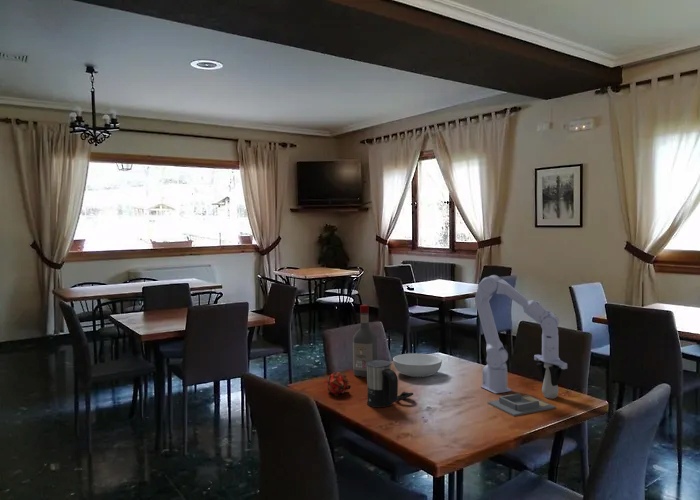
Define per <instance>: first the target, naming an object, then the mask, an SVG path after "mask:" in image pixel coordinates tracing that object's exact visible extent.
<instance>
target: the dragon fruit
mask: <svg viewBox="0 0 700 500" xmlns="http://www.w3.org/2000/svg"><path fill="white" fill-rule="evenodd" d="M326 384H327V385H326V386H327V392H329V393H332V394H333V396H336V395H337V396H339V395H340V394H344V393H345V392H346V391H347V390H350V389H351V388H352V385H350V384H349V380H348V379H347V375H346V374H342V372H339V371H337V372H336V371H335V372H332V373H331V374H330V375H329V376H328V377H327V382H326ZM338 394H339V395H338Z"/></svg>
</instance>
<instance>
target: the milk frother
mask: <svg viewBox="0 0 700 500" xmlns="http://www.w3.org/2000/svg"><path fill="white" fill-rule="evenodd" d="M366 365H367V377H366V382H367V385H366V386H367V401H366V404H367V405H368V406H370V407H373V408H386V407H390V406H392V404H394V403H396V402H398V401H401V400H407V399H408V398H410V397H412V396H414V392H407V391H402V392H401V393H399V394H398V389H399V387H398V386H399V379H398V375H397V373H396V371H394V370H393V369H392V367H391V366H392V362H391V361H389V360H381V359H379V360H378V359H377V360H375V361H369V362H367V363H366Z"/></svg>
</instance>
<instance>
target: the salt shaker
mask: <svg viewBox="0 0 700 500" xmlns="http://www.w3.org/2000/svg"><path fill="white" fill-rule="evenodd" d="M551 366H553V364H551V363H546V362H545V363H544V368H546V372H545V376H544V381H543V380H542V382H543V383H542V388H541V392H542V394H543V397H544V398H546V399H551V400H552V399H553V400H554V399H557V397H558V395H559V392H560V391H559V390H560V389H559V386H558V385H557V386H552V383H551V374H550V370H549V367H551Z"/></svg>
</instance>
